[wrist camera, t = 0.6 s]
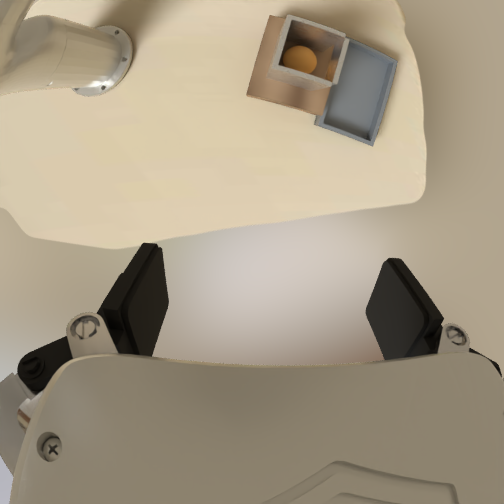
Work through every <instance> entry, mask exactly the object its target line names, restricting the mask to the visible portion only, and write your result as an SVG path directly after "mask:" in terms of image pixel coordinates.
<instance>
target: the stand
mask: <svg viewBox="0 0 504 504" xmlns="http://www.w3.org/2000/svg"><path fill="white" fill-rule="evenodd" d="M284 22H285V19H284V18H280V17H276V16H271V15H270V16H269V19H268V22H267V25H266V29H265V32H264V35H263V38H262V42H261V45H260V48H259V52H258V55H257V59H256V62H255V65H254V69H253V72H252V76H251V80H250V83H249V87H248V90H247V94H246V95H247V96H249V97H253V98H257V99H261V100H265V101H269V102H273V103H277V104H281V105H284V106H288V107H291V108H295V109H298V110H301V111H304V112H308V113H311V114H314V115H320V116H322V115H323V112H324V108H325V105H326V102H327V98H328V95H329V92H330V88H331V87H328V88H323V89H318V90H313V91H310V90H307V89H304V88H300V87H297V86H294V85H290V84H287V83H283V82H280V81H276V80H272V79H268V78H266V76H267V73H268V69H269V66H270V62H271V59H272V56H273V52H274V49H275V45H276V42H277V39H278V35H279V33H280V31H281V29H282V26H283V24H284ZM334 45H335V44H334ZM334 45H333V46H331V47H330V48H328V49H327V50H325V51H324V52H320V51H317V50H314V49H311V48H309V49H310V50H311V51H312V52H313V53H314V54H315V56H316V59H317V64H316V67H315V69H314V70H313V71H312V72H311V73H309V74H310V75H313V76H316V77H319V78H322V79H324V80H325V77H326V73H327V70H328V66H329V63H330V59H331V56H332V52H333V49H334ZM293 46H302V45H299V44H295V43H292V42H288V41H285V43H284V47H283V50H282V53H281V57H280V60H279V64H278V65H280V66H283V67H285V66H284V63H283V56H284V54H285V52H286V51H287V50H288V49H289V48H291V47H293ZM304 47H305V46H304ZM307 48H308V47H307Z"/></svg>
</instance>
